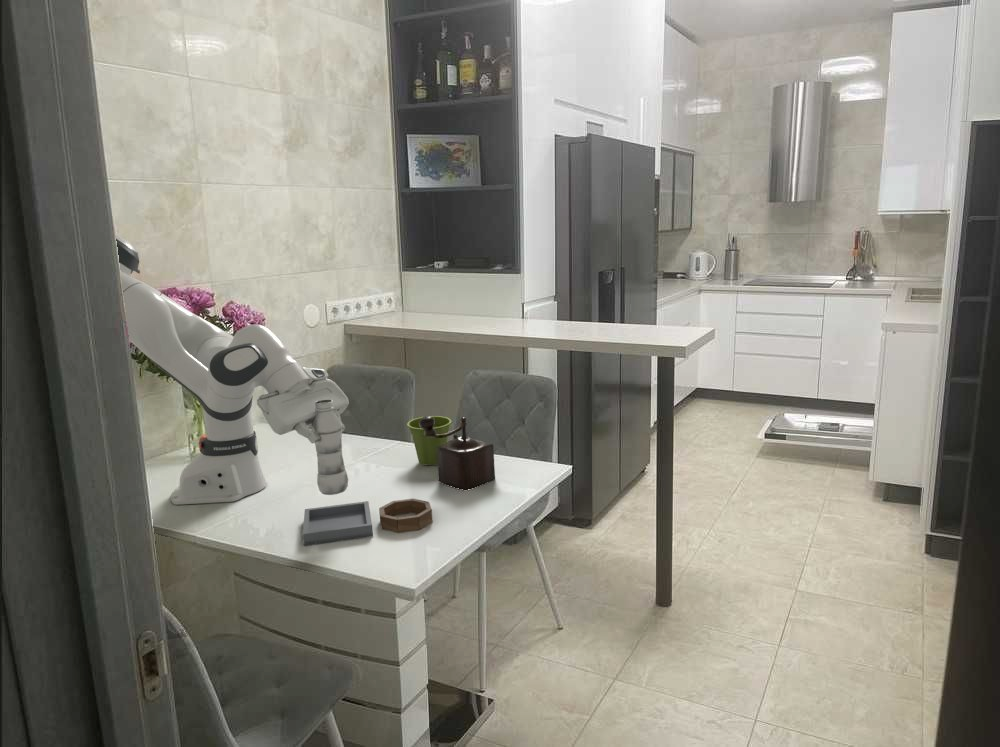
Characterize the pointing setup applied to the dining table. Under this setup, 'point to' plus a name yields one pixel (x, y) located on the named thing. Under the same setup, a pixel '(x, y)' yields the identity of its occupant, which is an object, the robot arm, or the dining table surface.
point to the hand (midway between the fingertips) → (329, 435)
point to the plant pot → (428, 439)
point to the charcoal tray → (337, 523)
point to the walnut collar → (405, 522)
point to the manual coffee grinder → (462, 457)
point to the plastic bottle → (329, 449)
